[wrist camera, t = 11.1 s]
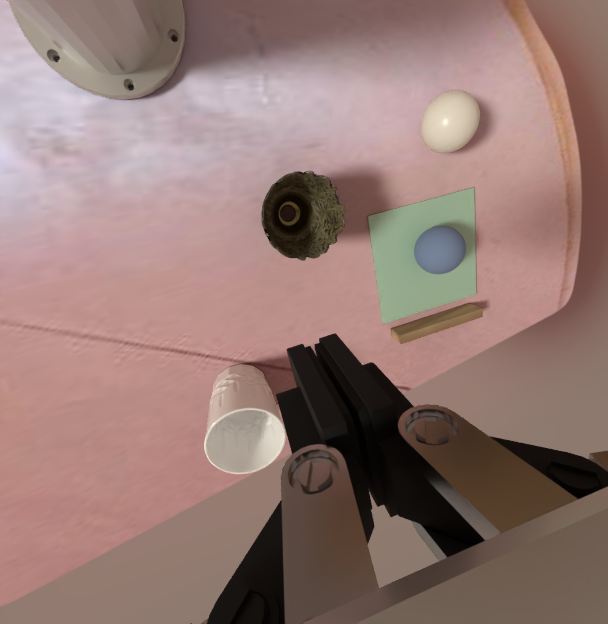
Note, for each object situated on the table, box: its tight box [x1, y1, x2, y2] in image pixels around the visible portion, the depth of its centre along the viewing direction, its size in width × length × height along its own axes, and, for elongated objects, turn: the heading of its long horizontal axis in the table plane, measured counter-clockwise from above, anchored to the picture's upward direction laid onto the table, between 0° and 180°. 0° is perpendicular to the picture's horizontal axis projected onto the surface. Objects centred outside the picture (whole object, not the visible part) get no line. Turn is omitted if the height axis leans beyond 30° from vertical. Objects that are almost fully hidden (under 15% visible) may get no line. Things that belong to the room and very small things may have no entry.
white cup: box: [204, 364, 286, 474], centre depth 36 cm, size 8×8×10 cm
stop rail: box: [391, 303, 483, 344], centre depth 43 cm, size 1×12×2 cm, turn 103°
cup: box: [262, 171, 345, 261], centre depth 31 cm, size 8×7×8 cm
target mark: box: [367, 188, 476, 324], centre depth 41 cm, size 14×14×1 cm
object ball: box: [414, 226, 466, 274], centre depth 38 cm, size 6×6×6 cm
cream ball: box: [420, 90, 480, 153], centre depth 33 cm, size 6×6×6 cm
